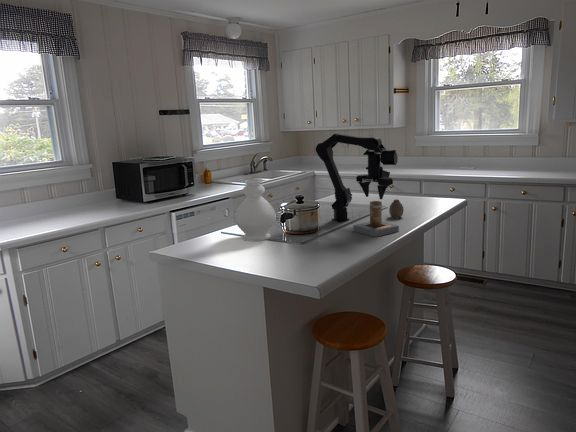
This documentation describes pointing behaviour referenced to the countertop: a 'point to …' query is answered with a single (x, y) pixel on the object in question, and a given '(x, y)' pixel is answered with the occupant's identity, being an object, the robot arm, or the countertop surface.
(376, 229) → the socket block
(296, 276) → the countertop surface
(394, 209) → the vase
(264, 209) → the decorative vase
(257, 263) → the countertop surface
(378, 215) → the walnut peg
